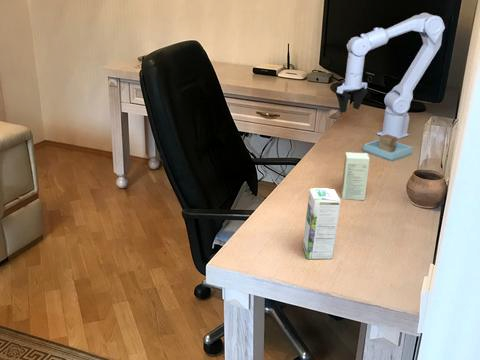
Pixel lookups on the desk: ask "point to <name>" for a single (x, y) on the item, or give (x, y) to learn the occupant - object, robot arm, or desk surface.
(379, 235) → the desk surface
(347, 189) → the skincare box
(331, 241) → the syrup box
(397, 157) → the tray
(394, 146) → the walnut block
